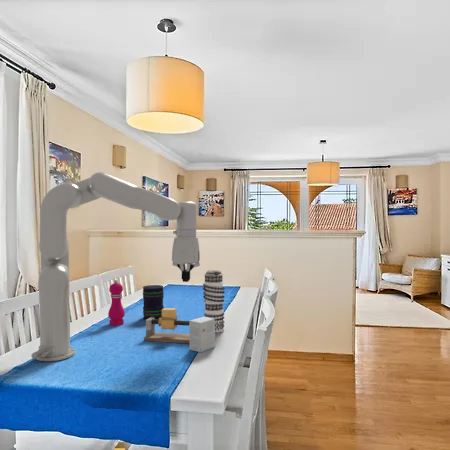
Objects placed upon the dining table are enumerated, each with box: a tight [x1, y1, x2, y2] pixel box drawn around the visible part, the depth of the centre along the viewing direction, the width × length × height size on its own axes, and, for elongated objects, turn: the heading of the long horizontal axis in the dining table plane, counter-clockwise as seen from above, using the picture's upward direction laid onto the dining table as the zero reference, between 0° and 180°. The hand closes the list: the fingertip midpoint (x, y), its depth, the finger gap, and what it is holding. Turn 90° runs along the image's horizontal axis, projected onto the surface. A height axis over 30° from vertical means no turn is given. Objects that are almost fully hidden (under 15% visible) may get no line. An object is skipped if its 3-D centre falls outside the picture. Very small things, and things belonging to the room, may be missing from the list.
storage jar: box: [142, 284, 165, 321], centre depth 192 cm, size 10×10×15 cm
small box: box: [188, 316, 216, 353], centre depth 145 cm, size 8×6×10 cm
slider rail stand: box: [143, 318, 190, 344], centre depth 156 cm, size 8×22×8 cm, turn 78°
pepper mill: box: [107, 279, 126, 327], centre depth 181 cm, size 7×7×20 cm
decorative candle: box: [202, 269, 226, 333], centre depth 169 cm, size 9×9×25 cm
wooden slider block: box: [160, 307, 178, 331], centre depth 157 cm, size 4×5×7 cm
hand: (185, 281), depth 155 cm, fingers closed
